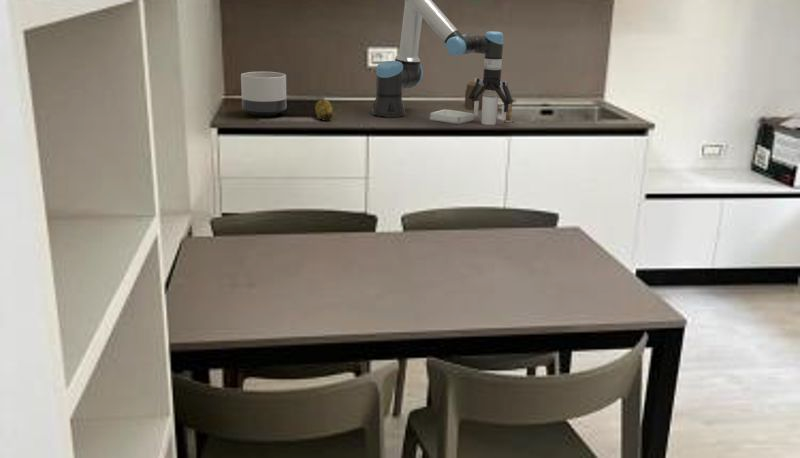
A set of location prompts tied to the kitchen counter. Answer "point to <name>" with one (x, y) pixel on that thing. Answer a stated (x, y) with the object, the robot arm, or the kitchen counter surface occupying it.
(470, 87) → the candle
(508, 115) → the post
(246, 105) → the planter
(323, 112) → the potato
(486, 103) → the mug
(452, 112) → the tray
